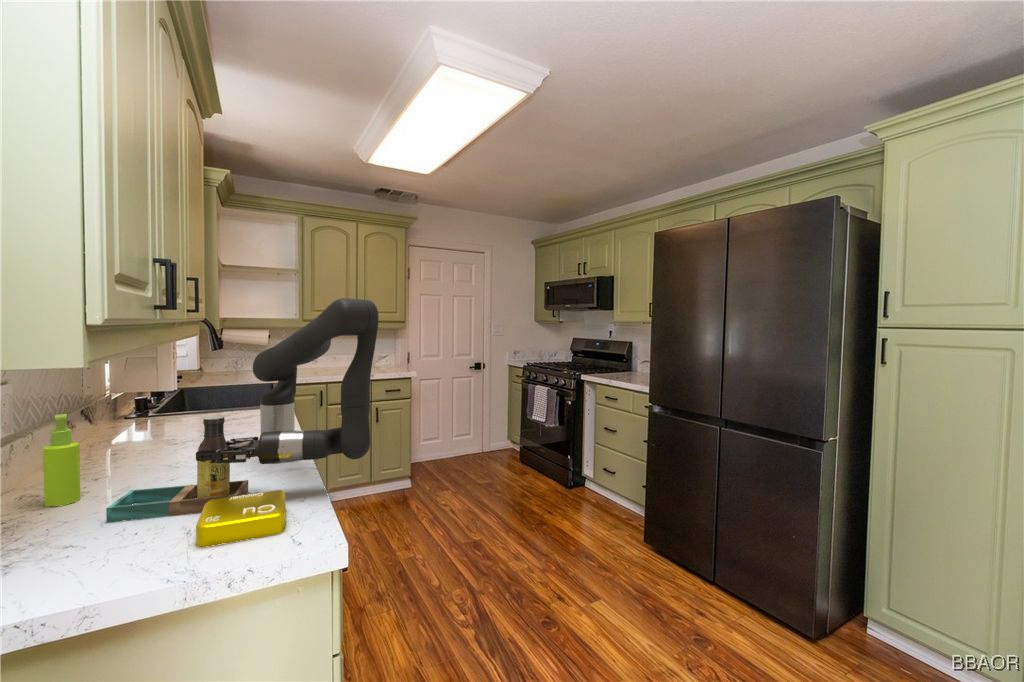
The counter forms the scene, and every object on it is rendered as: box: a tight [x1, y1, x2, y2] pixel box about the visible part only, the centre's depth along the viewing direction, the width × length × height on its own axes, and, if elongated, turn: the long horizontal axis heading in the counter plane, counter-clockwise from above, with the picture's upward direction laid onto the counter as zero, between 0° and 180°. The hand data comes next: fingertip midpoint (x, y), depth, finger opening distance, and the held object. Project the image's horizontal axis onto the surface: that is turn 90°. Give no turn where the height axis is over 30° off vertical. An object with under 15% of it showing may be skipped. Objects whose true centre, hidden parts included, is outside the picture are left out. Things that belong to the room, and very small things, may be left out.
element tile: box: [195, 489, 287, 548], centre depth 92 cm, size 15×15×5 cm
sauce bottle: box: [196, 415, 231, 498], centre depth 103 cm, size 7×6×20 cm
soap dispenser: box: [42, 413, 82, 507], centre depth 103 cm, size 6×7×20 cm
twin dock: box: [105, 479, 249, 523], centre depth 101 cm, size 11×24×3 cm, turn 109°
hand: (201, 452), depth 102 cm, fingers closed on sauce bottle, 6 cm apart
